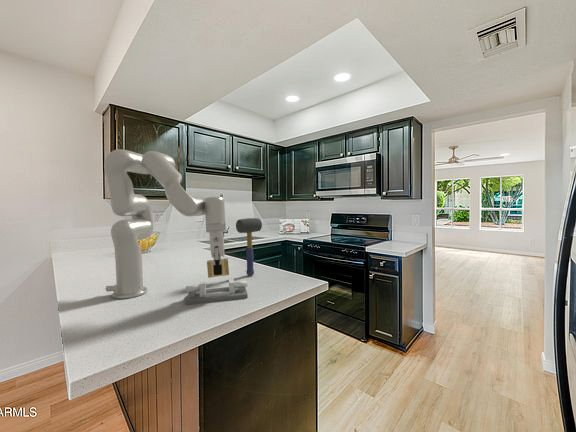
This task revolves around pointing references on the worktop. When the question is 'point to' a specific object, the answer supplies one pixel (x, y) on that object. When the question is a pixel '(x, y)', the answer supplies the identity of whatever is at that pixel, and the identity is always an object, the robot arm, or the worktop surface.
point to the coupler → (224, 268)
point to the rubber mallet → (249, 238)
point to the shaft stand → (216, 292)
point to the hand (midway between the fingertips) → (218, 272)
